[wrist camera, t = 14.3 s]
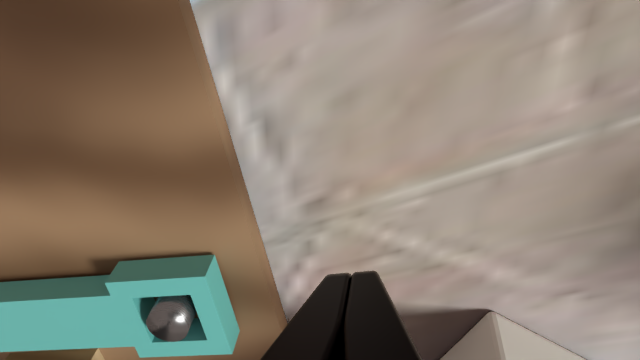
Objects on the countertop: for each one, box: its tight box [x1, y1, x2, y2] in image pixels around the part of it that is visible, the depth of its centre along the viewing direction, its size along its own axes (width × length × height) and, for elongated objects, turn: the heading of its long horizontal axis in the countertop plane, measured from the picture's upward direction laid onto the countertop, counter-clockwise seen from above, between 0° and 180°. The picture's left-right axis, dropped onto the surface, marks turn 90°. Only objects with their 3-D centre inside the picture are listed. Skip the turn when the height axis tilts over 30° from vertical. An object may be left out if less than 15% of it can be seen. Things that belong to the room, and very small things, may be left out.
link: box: [0, 255, 240, 358], centre depth 26 cm, size 20×4×1 cm, turn 100°
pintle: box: [146, 295, 197, 342], centre depth 25 cm, size 2×2×3 cm
